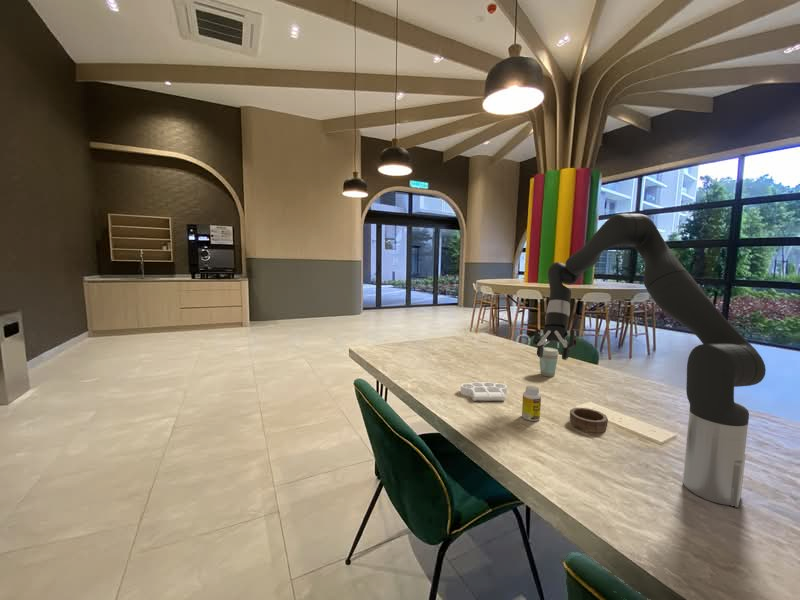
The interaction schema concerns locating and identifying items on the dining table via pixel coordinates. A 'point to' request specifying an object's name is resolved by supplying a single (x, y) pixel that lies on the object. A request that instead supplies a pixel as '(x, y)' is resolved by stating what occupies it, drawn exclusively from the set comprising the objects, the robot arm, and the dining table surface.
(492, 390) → the white brass knuckles
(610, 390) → the dining table surface
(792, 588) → the dining table surface
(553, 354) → the coffee cup
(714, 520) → the dining table surface
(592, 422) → the brown wooden bowl
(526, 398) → the supplement bottle
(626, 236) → the robot arm
